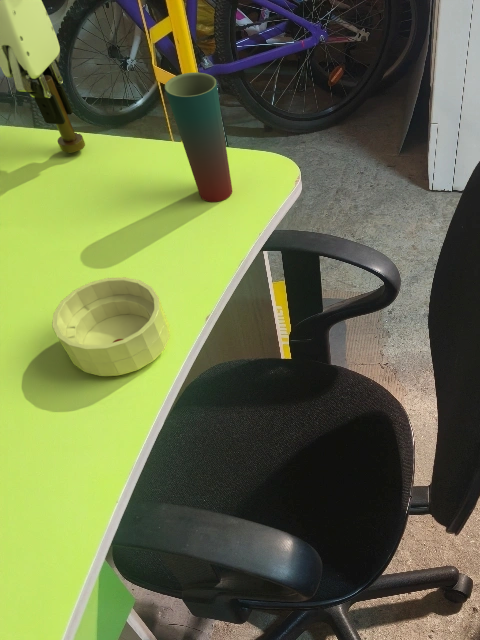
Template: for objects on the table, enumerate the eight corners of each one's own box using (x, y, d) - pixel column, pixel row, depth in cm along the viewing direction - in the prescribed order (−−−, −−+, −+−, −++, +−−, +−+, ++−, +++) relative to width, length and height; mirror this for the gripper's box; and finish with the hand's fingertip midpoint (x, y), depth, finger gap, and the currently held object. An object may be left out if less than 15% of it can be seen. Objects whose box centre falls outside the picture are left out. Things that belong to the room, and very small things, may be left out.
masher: (56, 152, 95) (25, 84, 87) (66, 139, 97) (37, 71, 89) (79, 153, 95) (50, 85, 86) (89, 140, 97) (62, 72, 89)
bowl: (54, 375, 70) (34, 344, 65) (93, 305, 76) (77, 273, 72) (152, 384, 68) (138, 353, 64) (183, 312, 75) (172, 280, 71)
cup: (185, 200, 89) (154, 91, 76) (208, 176, 92) (182, 69, 79) (224, 209, 87) (199, 100, 75) (246, 185, 91) (225, 77, 78)
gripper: (-2, -52, 82) (58, 92, 97) (-62, -7, 73) (15, 143, 89) (48, -51, 81) (101, 94, 96) (-6, -5, 72) (61, 146, 88)
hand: (59, 117), depth 92 cm, fingers closed on masher, 2 cm apart
